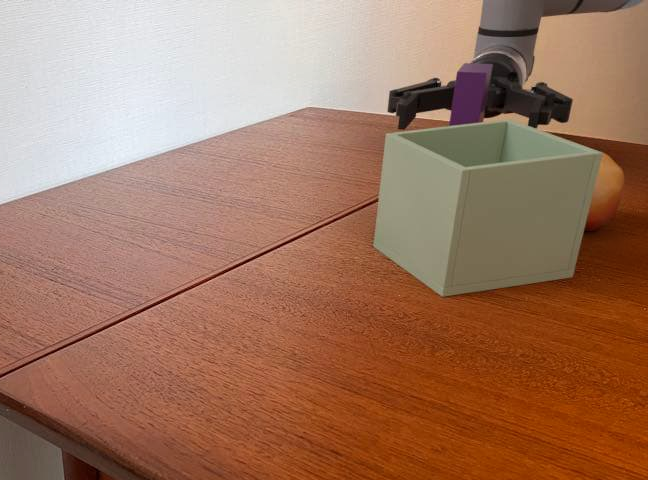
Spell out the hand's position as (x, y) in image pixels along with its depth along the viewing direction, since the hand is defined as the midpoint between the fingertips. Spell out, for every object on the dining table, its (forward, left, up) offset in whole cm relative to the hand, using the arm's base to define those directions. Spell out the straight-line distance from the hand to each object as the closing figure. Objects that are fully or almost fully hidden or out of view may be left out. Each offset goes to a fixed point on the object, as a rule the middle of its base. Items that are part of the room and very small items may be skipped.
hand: (465, 121), depth 96 cm
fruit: (-2, +17, -7) cm, 19 cm away
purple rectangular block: (-1, -1, -7) cm, 7 cm away
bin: (+12, +22, -7) cm, 26 cm away
